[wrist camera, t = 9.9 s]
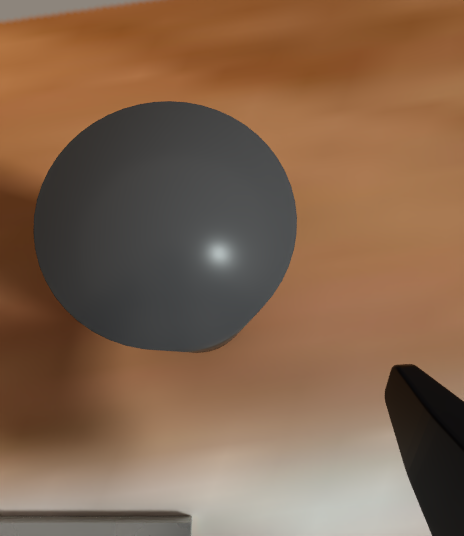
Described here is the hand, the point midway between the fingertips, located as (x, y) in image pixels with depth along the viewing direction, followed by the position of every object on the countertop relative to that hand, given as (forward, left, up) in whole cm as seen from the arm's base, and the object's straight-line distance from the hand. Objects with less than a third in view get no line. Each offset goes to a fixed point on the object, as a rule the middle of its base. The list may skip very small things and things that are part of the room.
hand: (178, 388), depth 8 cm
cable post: (+3, 0, -9) cm, 10 cm away
